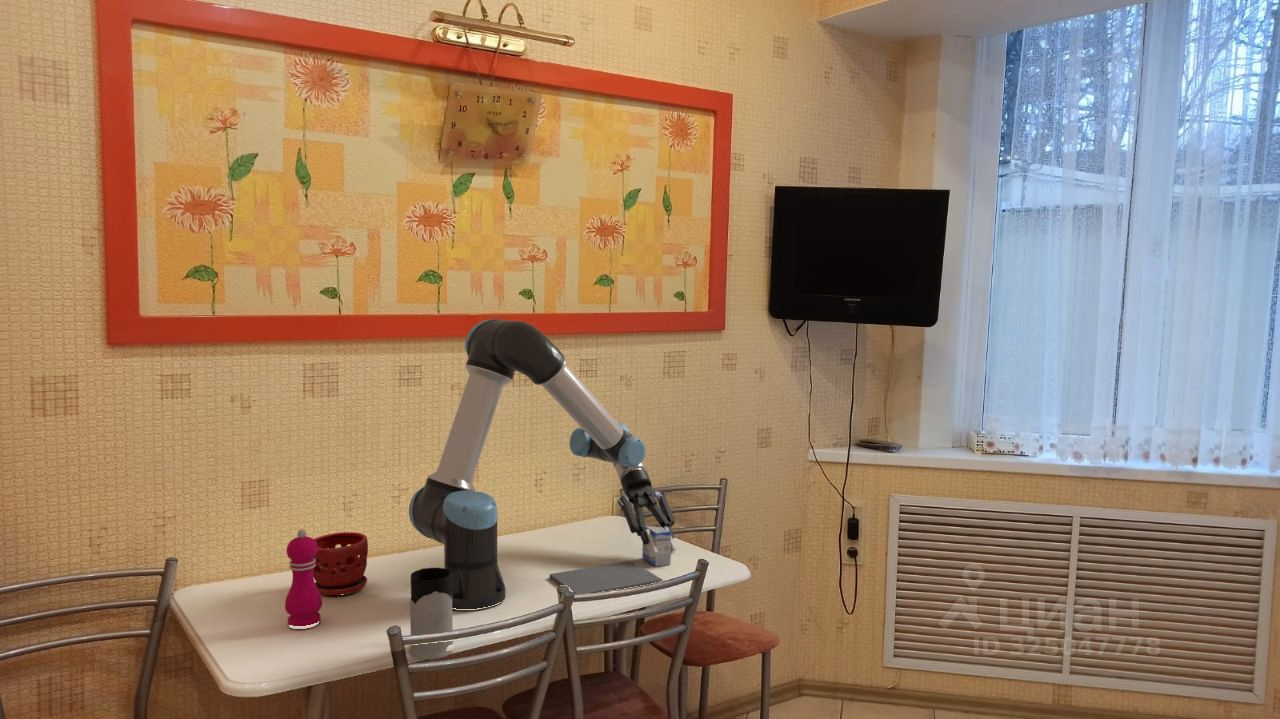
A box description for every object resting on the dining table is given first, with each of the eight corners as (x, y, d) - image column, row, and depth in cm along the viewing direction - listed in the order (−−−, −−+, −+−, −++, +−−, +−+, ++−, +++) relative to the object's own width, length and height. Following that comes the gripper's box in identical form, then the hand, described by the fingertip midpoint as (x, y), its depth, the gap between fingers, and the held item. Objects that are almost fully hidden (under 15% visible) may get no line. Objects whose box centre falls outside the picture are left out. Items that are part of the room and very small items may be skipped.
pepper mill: (286, 633, 176) (283, 536, 175) (284, 621, 183) (282, 527, 181) (324, 628, 179) (321, 532, 177) (321, 615, 186) (319, 523, 184)
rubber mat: (577, 599, 197) (577, 594, 196) (549, 578, 211) (549, 574, 210) (662, 583, 207) (662, 579, 207) (630, 564, 221) (630, 560, 221)
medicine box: (642, 558, 226) (642, 525, 226) (657, 556, 228) (657, 523, 227) (655, 567, 219) (655, 533, 218) (671, 564, 221) (671, 531, 220)
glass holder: (412, 662, 163) (411, 584, 162) (400, 634, 176) (399, 561, 175) (459, 654, 167) (458, 577, 166) (444, 628, 180) (443, 556, 178)
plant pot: (338, 577, 210) (337, 528, 209) (380, 586, 205) (379, 535, 203) (295, 594, 199) (294, 542, 198) (338, 604, 193) (337, 550, 192)
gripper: (657, 480, 240) (688, 555, 227) (598, 487, 231) (627, 565, 218) (667, 464, 235) (699, 540, 222) (607, 470, 226) (638, 550, 213)
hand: (663, 552), depth 220 cm, fingers closed on medicine box, 5 cm apart
